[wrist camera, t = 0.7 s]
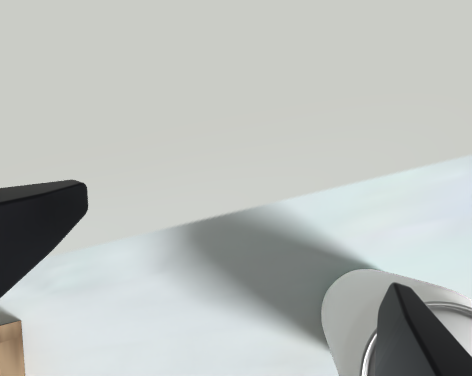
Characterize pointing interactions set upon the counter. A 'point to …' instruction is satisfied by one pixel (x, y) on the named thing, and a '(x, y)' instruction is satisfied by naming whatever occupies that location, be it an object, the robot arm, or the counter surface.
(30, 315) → the counter surface
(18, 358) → the wooden frame
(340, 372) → the can
